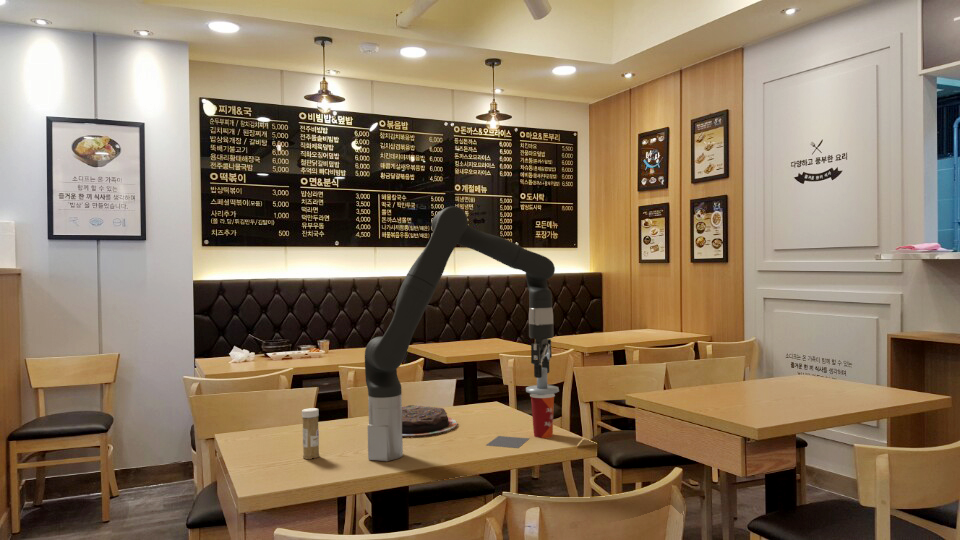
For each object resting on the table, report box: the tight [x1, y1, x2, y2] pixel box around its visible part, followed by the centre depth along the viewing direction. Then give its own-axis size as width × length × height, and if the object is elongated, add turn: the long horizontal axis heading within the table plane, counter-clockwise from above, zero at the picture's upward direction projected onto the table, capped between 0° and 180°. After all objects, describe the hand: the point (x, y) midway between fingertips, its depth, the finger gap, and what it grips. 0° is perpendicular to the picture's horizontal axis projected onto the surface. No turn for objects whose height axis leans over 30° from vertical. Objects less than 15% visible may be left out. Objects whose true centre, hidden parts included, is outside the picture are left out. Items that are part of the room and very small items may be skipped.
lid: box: [525, 368, 560, 394], centre depth 195 cm, size 10×10×7 cm
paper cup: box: [529, 393, 556, 439], centre depth 195 cm, size 8×8×14 cm
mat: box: [485, 435, 530, 449], centre depth 188 cm, size 11×10×1 cm
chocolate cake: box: [402, 404, 458, 439], centre depth 211 cm, size 28×28×7 cm
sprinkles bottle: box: [301, 407, 320, 460], centre depth 178 cm, size 5×5×13 cm
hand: (542, 375), depth 195 cm, fingers open, 8 cm apart
